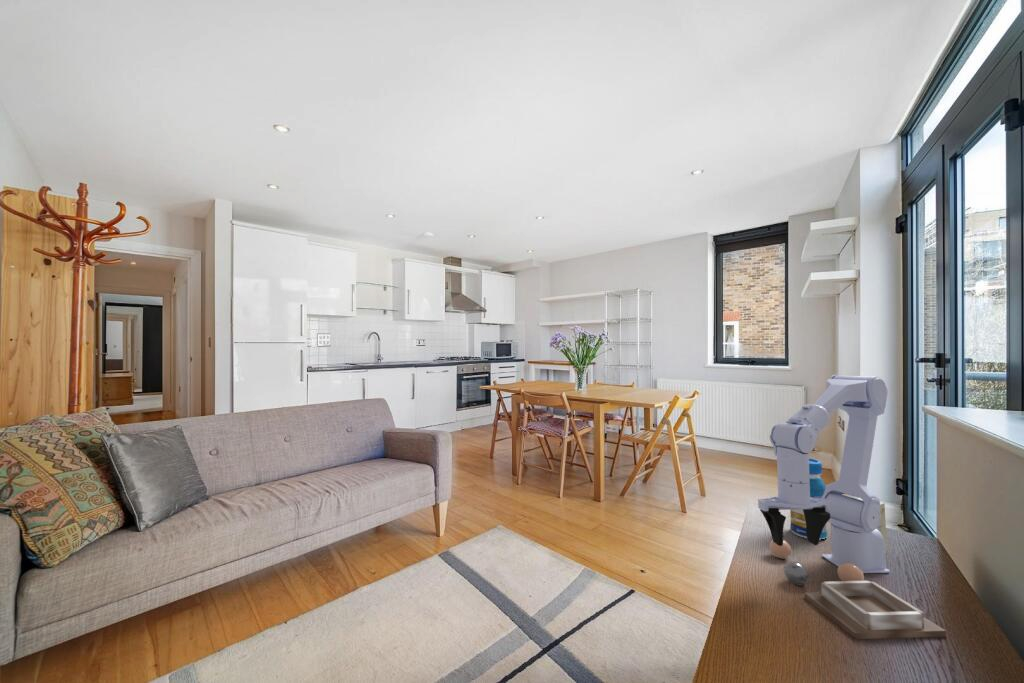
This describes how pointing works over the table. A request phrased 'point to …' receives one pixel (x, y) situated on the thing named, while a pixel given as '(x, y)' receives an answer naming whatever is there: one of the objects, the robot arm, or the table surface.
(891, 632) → the holder board
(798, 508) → the robot arm
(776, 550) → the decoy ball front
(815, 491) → the beverage bottle
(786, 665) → the table surface
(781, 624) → the table surface
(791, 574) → the steel ball
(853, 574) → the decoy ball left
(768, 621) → the table surface
